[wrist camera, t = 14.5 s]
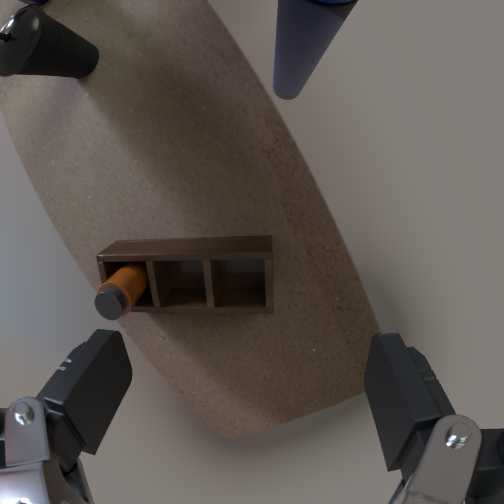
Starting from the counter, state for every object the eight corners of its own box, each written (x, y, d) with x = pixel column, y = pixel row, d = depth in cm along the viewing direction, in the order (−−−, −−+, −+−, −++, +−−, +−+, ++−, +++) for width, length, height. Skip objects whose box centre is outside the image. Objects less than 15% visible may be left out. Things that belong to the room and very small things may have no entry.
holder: (116, 240, 37) (95, 255, 32) (271, 235, 36) (272, 251, 31) (126, 290, 40) (108, 310, 34) (273, 290, 38) (273, 313, 33)
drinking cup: (72, 34, 28) (-32, -3, 9) (116, 36, 28) (12, -19, 10) (55, 86, 30) (-60, 74, 12) (97, 91, 31) (-24, 70, 12)
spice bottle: (126, 253, 37) (87, 288, 28) (154, 253, 37) (120, 289, 27) (131, 283, 38) (96, 322, 29) (159, 283, 38) (129, 325, 29)
